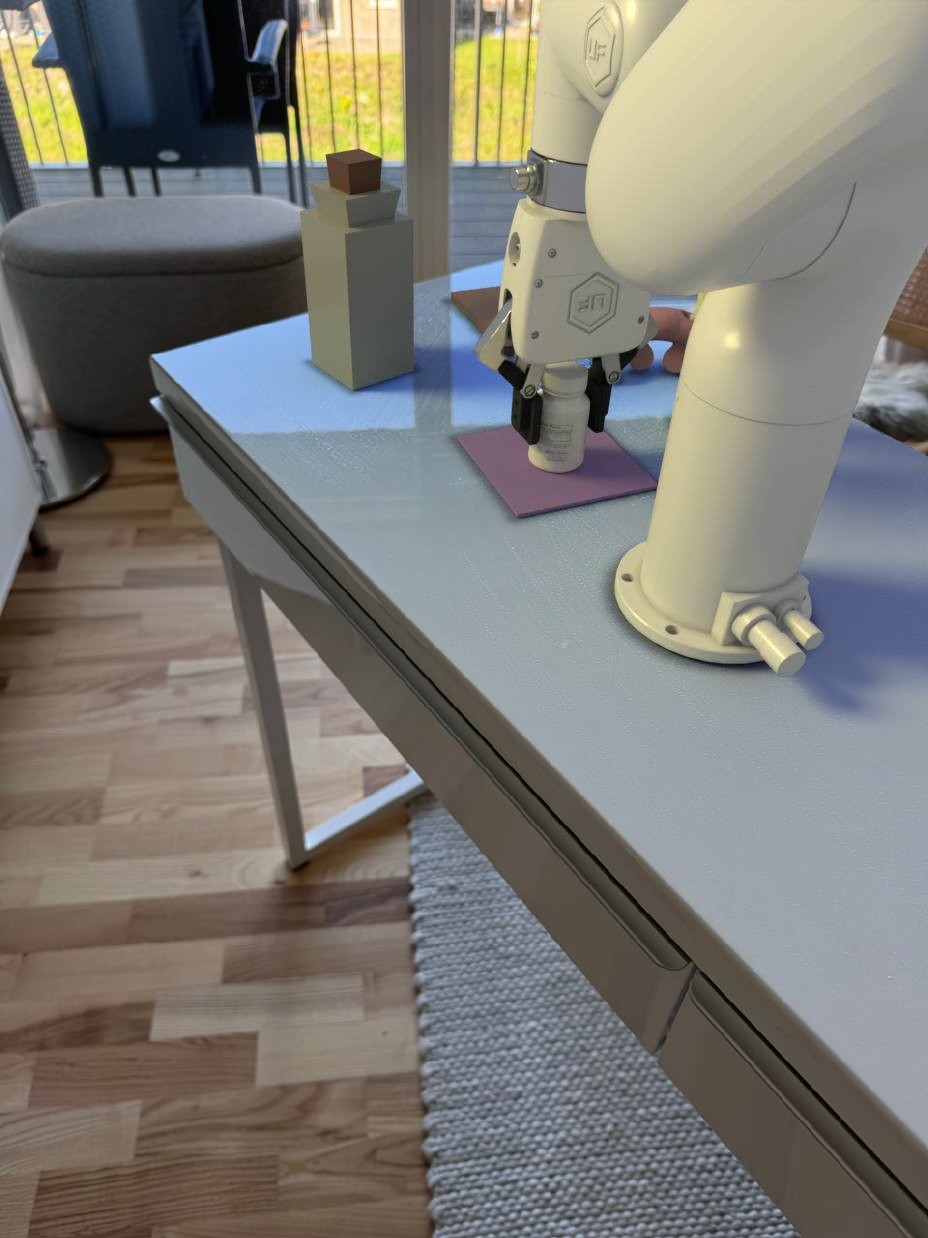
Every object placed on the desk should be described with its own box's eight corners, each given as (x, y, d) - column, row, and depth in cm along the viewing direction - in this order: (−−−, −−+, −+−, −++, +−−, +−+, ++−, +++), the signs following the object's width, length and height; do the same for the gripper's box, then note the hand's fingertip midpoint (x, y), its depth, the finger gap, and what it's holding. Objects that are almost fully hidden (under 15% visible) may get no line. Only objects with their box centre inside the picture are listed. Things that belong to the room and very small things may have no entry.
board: (614, 339, 91) (615, 330, 91) (504, 356, 88) (504, 346, 87) (552, 288, 101) (552, 279, 100) (450, 301, 97) (450, 291, 97)
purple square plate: (658, 488, 71) (659, 484, 71) (517, 517, 67) (517, 514, 67) (586, 416, 79) (586, 413, 79) (457, 439, 76) (457, 436, 75)
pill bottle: (555, 440, 75) (565, 350, 70) (594, 462, 73) (607, 371, 68) (516, 456, 73) (523, 366, 68) (554, 480, 71) (564, 388, 66)
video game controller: (705, 389, 87) (715, 312, 85) (714, 389, 83) (725, 307, 81) (600, 381, 87) (608, 304, 86) (604, 381, 83) (612, 300, 81)
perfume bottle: (353, 390, 81) (341, 172, 70) (312, 362, 85) (294, 152, 73) (414, 370, 85) (412, 159, 73) (372, 344, 89) (364, 140, 77)
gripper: (488, 210, 54) (476, 474, 66) (729, 186, 59) (677, 435, 71) (442, 174, 59) (438, 425, 71) (668, 155, 65) (629, 392, 76)
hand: (558, 428), depth 71 cm, fingers open, 4 cm apart
